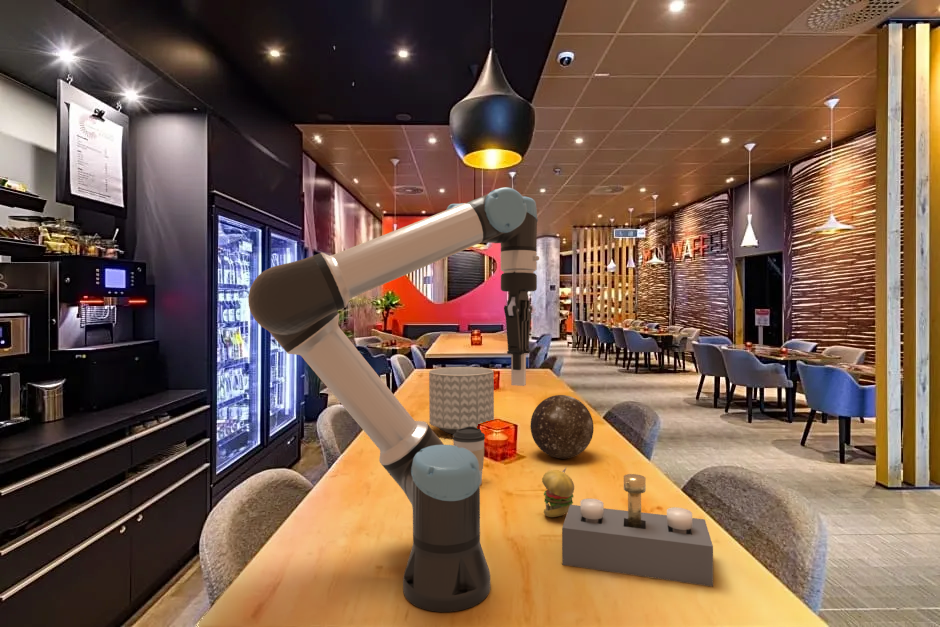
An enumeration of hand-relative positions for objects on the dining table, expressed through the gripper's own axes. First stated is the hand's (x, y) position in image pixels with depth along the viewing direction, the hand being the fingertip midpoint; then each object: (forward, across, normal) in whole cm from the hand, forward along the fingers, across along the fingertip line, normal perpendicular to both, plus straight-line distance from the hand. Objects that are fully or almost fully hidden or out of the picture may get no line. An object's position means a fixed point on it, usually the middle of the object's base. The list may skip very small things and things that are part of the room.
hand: (518, 384), depth 109 cm
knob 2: (+32, -1, -32) cm, 45 cm away
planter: (+32, +82, +47) cm, 100 cm away
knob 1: (+32, -2, -16) cm, 35 cm away
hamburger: (+33, +14, -6) cm, 36 cm away
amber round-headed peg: (+26, -1, -23) cm, 35 cm away
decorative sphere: (+32, +61, +3) cm, 69 cm away
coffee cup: (+33, +28, +22) cm, 48 cm away
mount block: (+32, -1, -24) cm, 40 cm away
